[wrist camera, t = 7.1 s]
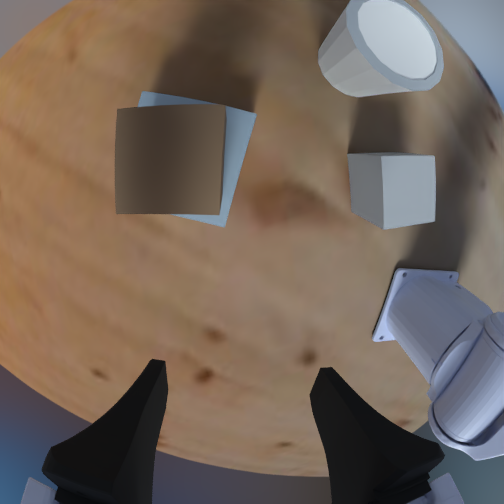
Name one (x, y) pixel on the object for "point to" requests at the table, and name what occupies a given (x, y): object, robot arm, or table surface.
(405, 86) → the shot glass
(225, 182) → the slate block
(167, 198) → the walnut cube
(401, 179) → the grey cube
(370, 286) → the table surface
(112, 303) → the table surface
